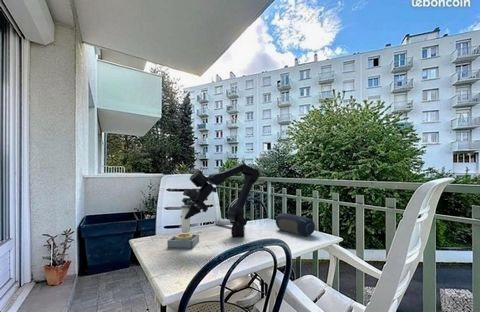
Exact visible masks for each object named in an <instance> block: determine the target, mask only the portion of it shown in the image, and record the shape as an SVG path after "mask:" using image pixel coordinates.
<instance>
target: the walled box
mask: <svg viewBox="0 0 480 312" xmlns="http://www.w3.org/2000/svg"><path fill="white" fill-rule="evenodd" d="M199 242H200V234H197V233H196V234H194V233H193V234H192V233H191V232H188V233H182V232H181V233H177V234H174V235H173V236H171V238H169V239H168V240H167V248H166V249H186V250H188V249H192V250H193V249H194V248H195V246H196V245H197V244H199Z"/></svg>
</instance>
